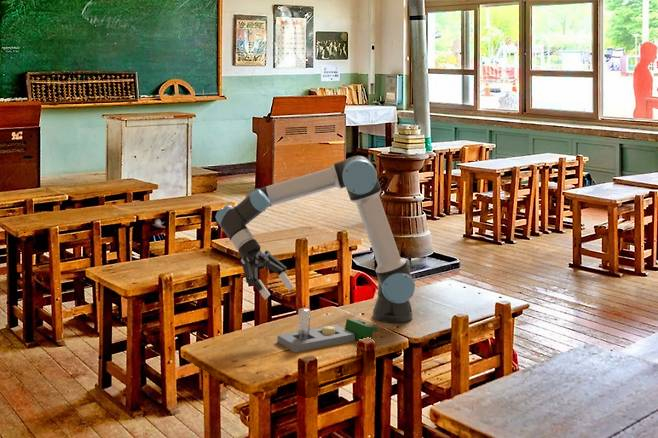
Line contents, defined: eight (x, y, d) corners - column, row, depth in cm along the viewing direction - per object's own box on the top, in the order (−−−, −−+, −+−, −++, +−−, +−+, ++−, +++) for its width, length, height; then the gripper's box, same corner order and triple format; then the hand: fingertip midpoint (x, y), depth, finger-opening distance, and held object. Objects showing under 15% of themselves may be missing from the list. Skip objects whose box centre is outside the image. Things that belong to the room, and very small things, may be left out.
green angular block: (370, 351, 288) (382, 331, 285) (358, 350, 284) (370, 330, 281) (353, 330, 296) (364, 310, 293) (341, 329, 292) (352, 309, 289)
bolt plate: (336, 331, 295) (336, 320, 295) (354, 340, 285) (355, 329, 285) (277, 341, 283) (277, 330, 282) (294, 352, 273) (294, 340, 272)
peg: (306, 341, 284) (306, 307, 282) (311, 344, 281) (312, 310, 279) (296, 342, 282) (296, 309, 280) (301, 346, 279) (302, 312, 277)
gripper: (262, 245, 302) (294, 291, 296) (216, 257, 281) (250, 307, 276) (273, 232, 298) (307, 279, 292) (228, 244, 277) (263, 294, 272)
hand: (279, 292), depth 284 cm, fingers open, 13 cm apart
